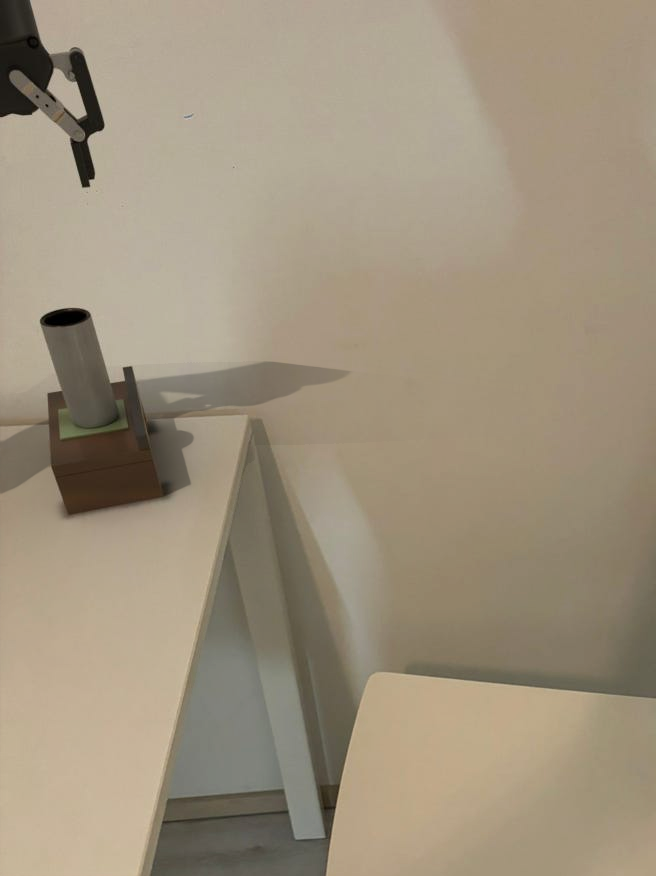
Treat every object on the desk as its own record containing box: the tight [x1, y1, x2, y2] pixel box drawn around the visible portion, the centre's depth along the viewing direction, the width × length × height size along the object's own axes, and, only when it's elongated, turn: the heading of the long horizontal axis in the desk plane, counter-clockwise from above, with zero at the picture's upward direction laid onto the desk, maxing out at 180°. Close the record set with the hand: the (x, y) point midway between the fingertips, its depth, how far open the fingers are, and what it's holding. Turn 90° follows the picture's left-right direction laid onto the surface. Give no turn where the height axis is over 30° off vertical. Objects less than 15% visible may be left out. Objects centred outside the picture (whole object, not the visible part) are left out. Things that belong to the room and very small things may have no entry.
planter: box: [39, 307, 119, 428], centre depth 90 cm, size 4×4×10 cm
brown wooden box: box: [46, 365, 164, 516], centre depth 95 cm, size 16×9×8 cm, turn 20°
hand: (35, 190), depth 83 cm, fingers open, 8 cm apart
